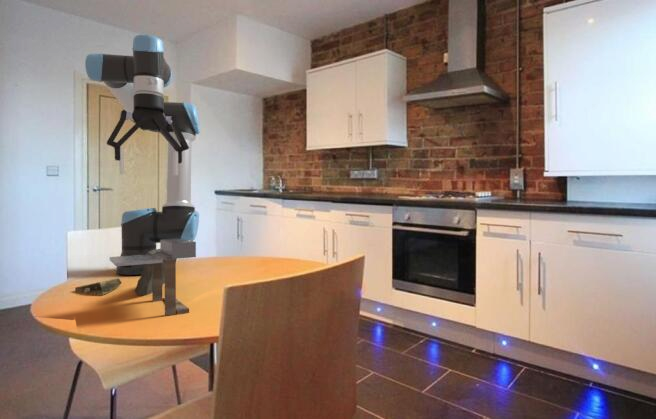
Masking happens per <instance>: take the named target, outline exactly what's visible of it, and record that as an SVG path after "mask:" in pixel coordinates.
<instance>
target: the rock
mask: <svg viewBox="0 0 656 419" xmlns="http://www.w3.org/2000/svg"><path fill="white" fill-rule="evenodd" d="M120 285H122V280H121V279H120V278H117V277H116V278H112V279H109V280H103V281H102V280H101V281H99V282H95V283H93V282H92V283H89V284H85V285H80V286H76V287H75V290H74V292H75V293H80V294H86V295H91V296H98V297H99V296H102V297H103V296H104V295H107V294H109V293H111V292H112V291H113V290H115V289H117V288H118V287H119V286H120Z"/></svg>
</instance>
